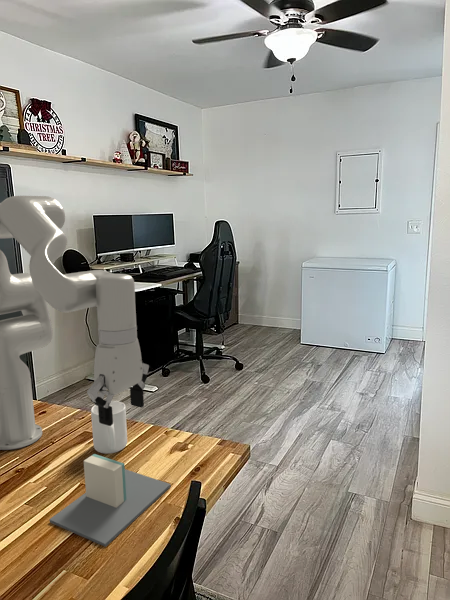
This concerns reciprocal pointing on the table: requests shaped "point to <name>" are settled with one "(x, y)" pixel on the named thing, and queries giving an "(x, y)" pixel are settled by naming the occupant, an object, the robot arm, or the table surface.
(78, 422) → the table surface
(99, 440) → the mug
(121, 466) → the cream and teal block
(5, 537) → the table surface
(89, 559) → the table surface
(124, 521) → the mat
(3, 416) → the robot arm
